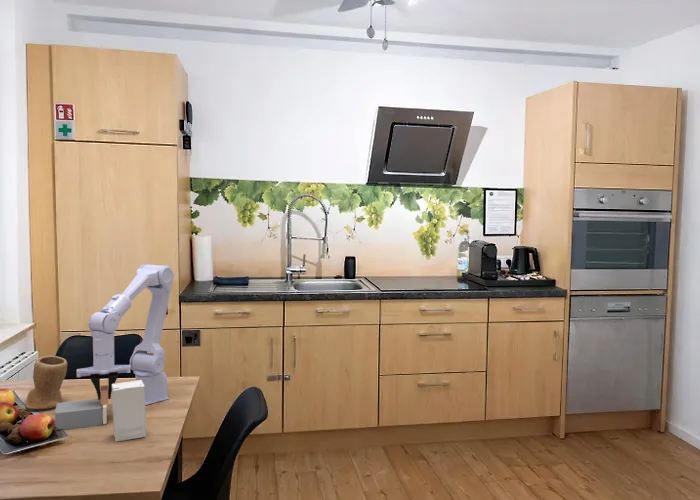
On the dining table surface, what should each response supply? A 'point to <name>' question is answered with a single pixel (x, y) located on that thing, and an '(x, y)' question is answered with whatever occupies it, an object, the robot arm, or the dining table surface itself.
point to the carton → (78, 414)
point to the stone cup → (47, 382)
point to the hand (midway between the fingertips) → (104, 398)
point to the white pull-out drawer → (104, 402)
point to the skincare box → (129, 410)
